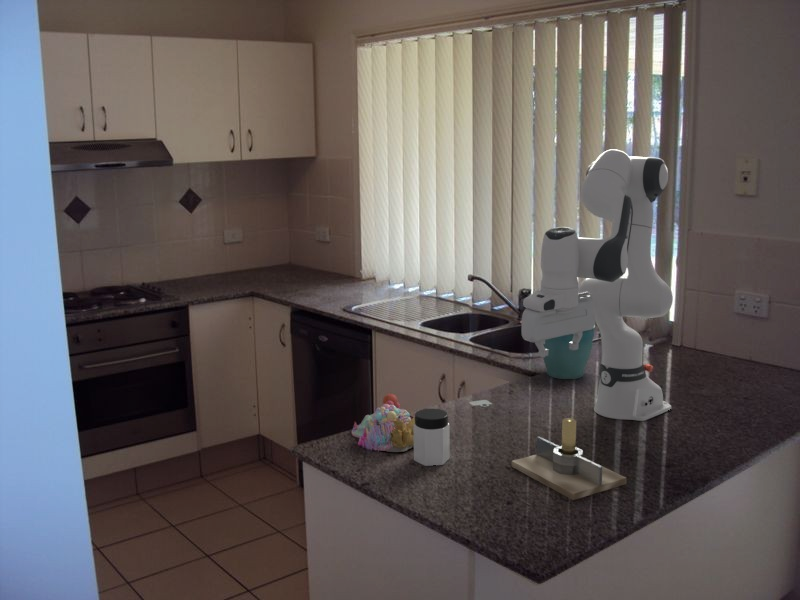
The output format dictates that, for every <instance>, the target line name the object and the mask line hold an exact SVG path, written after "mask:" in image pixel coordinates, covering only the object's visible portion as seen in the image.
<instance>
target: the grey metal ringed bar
mask: <svg viewBox="0 0 800 600" xmlns="http://www.w3.org/2000/svg"><path fill="white" fill-rule="evenodd" d="M561 449H562V445H558V444H556V443H555V442H552V441H550V440H548V439H546V438H544V437H541V436H537V437H536V454H537V455H539V456H541V457H543V458H545V459H547V460H549V461H551V462H553V470H554V471H556V472H557V473H559V474H564V475H575V474H576V475H578V476H580V477H582V478H584V479H586V480H588V481H590V482H592V483H594V484H596V485H598V486H601V485H602V465H601V466H600V464H599V463H596V462H594V461H592V460H590V459H588V458H586V457H584V451H583V449H581V448H579V447H577V446H576V447H575V454H574V455H564V454H561ZM583 457H584V458H583ZM598 464H599V465H598Z"/></svg>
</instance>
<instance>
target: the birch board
mask: <svg viewBox="0 0 800 600" xmlns="http://www.w3.org/2000/svg"><path fill="white" fill-rule="evenodd" d="M583 458H585V457H584V456H583ZM597 464H598V465H600V464H599V463H597ZM600 466H602V465H600ZM511 468H513V469H515V470H517V471H519V472H521V473H522V474H525V475H527V476H528V477H530V478H532V479H533V480H535V481H537V482H539V483H541V484H543V485H545V486H546V487H548V488H550V489H552V490H554V491H555V492H557V493H559V494H560V495H563V496H564V497H567V498H568V499H569V500H572V501H575V500H578V499H581V498H585V497H588V496H591V495H595V494H598V493H601V492H604V491H608V490H611V489H614V488H618V487H622V486H624V485H627V481H628V480H627V477H626V476H624V475H621V474H619V473H617V472H615V471H612V470H611V469H609V468H607V467H605V466H602V485H601V486H598V485H596V484H594V483H592V482H590V481H588V480H586V479H584V478H582V477H580V476H578V475H576V474H575V475H564V474H559V473H557V472H556V471H554V470H553V462H551V461H549V460H547V459H545V458H543V457H541V456H539V455H537V453H536V454H533V455H528V456H525V457H520V458H518V459H514V460H511Z"/></svg>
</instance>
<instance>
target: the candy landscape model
mask: <svg viewBox="0 0 800 600" xmlns="http://www.w3.org/2000/svg"><path fill="white" fill-rule="evenodd" d="M360 422H361V423H359V424H357V422H356V421H354V424H353V427H352V430H351V435H352V436H353V437H355V438H358V441H357V442H358V443H357V444H358V446H359V447H362V448H363V449H364V448H365V449H367V451H369V450H370V451H371V452H372V450H373V451H377V452H378V453H379V451H386V452H390V453H399V452H400V453H401V452H406V451H408V450H409V449H412V448H414V432H413V425H414V424H415V416H413V415H411V414H410V412H408V411H407V410H406V409H403V408H401V404H400V403H399V402H398V397H397V395H395V394H393V393H388V394H386V395H384V397H383V400H382V405H381V407H377V408H376V409H375V412H374V413H372V414H367V415H365V416H364V418H363V419H362V420H361V421H360Z"/></svg>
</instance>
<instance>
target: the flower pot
mask: <svg viewBox="0 0 800 600" xmlns="http://www.w3.org/2000/svg"><path fill="white" fill-rule="evenodd" d="M595 328H596V324H595V325H594V327H593V329H591V330H587V331H583V336H582V338H581V340H580V342H579V345H578V350H570V349H569V342H572V339H573V336H574V335H573V334H569V335H564V336H560V337H555V338H551V339H547V340H545V344H543V345H544V347H545V349H547V350H548V357H544V358H542V359H543V362H544V365H545V369H546V375H548V376H549V377H552V378H555V379H561V380H575V379H580V378H582V377H583V376H585V375H584V374H585V369H586V366H587V364H588V361H589V359H590V356H591V352H592V349H593V343H594V342H593V340H594V334H595Z"/></svg>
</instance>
